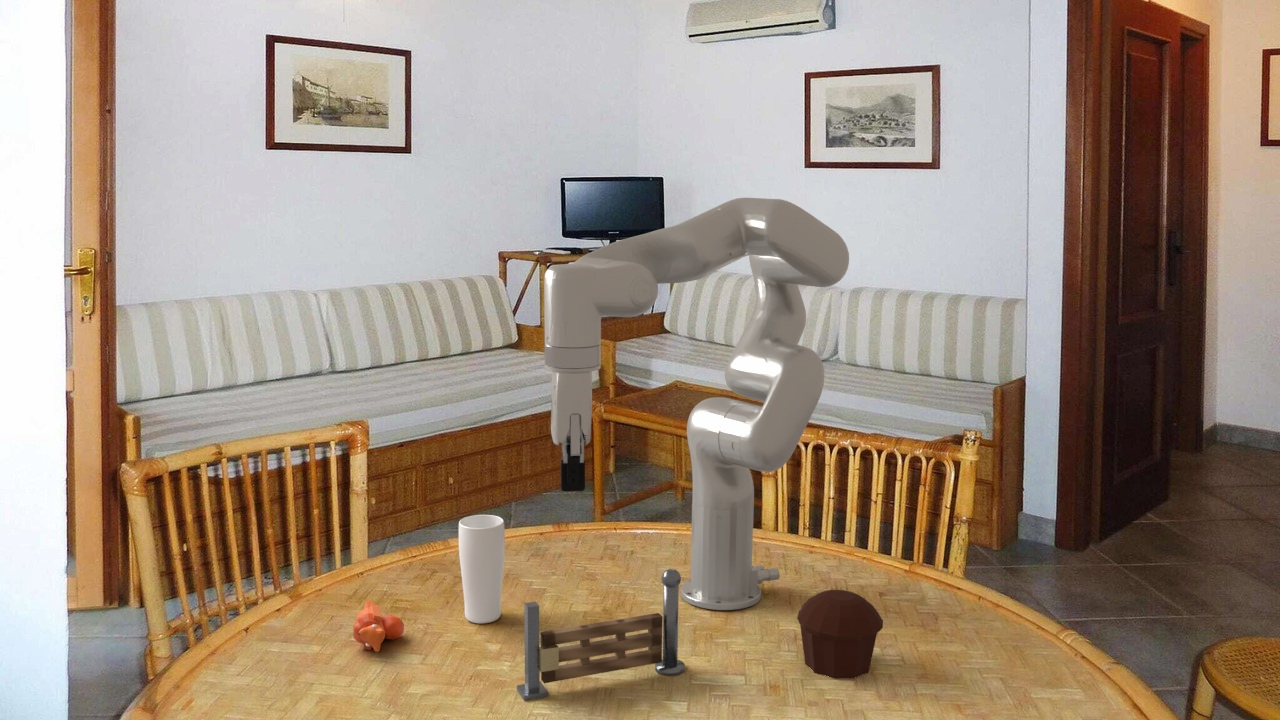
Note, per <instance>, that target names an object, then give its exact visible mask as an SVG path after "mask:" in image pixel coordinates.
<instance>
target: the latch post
mask: <svg viewBox="0 0 1280 720" xmlns="http://www.w3.org/2000/svg"><path fill="white" fill-rule="evenodd" d="M523 606H524V608H523V609H524V610H523V611H524V612H523V613H524V616H523V617H524V618H523V619H524V620H523V621H524V626H523V627H524V683H523V684H517V685H516V691H517V693H518V694H519V695H520V697H521V699H522V700H523V701H529V700H534V699H541V698H546V697H549V691H548V689H547V688H546V687H545V686H544V683H542V680H541V672H545V671H551V670H557V669H559V665H560V662H559V647H560V646H558V644H557V645H551V646H545V647H541V646H540V605H539V604H538V603H537V601H530V602H524V603H523ZM540 680H541V681H540Z"/></svg>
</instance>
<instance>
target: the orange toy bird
mask: <svg viewBox="0 0 1280 720" xmlns="http://www.w3.org/2000/svg"><path fill="white" fill-rule="evenodd" d="M363 607H364V608H363V609H361V610H360V612H359V613H358V614H357V616H356V621H355V623H354V624H353V629H352V631H353V632H352V634H353V635H352V637H353V639H354V640H355V641H356V642H357V643H359V644H361V645H362V650H366V651H367V650H368V651H370V650H372V648H373V650H374V651H375V652H376V653H378V652H380V650H381V646H382V645H381V644H382V643H383V641H384V640H385V639H387V640H390V639H392V640H393V639H394V640H397V639H399V638H400V637H402V635H403V634H404V631H405V624H404V621H403V620H402V619H401V618H400V617H399V616H398V617H397V616H395V615H390V614H388V615H387V614H386V615H384V616H382V615H383V614H382V611H381V608H380V605H379V604H378V605H377V604H375V602H374V601H373V600H372V601H371V600H368V599H366V600H365V602H364V606H363ZM392 640H391V641H392Z"/></svg>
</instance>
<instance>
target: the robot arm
mask: <svg viewBox="0 0 1280 720" xmlns="http://www.w3.org/2000/svg"><path fill="white" fill-rule="evenodd" d="M744 257H745V258H746V257H748V260H749V265H750V269H751V273H752V276H753V281H754V286H755V296H756V299H755V306H754V309H753V311H752V313H751V315H750V318H749V320H748V322H747V324H746V326H745V328H744V330H743V332H742V334H741V336H740V338H739V340H738V342H737V344H736V346H734V347H735V348H734V349H733V351H732V353H731V356H730V358H729V360H728V362H727V364H726V368H725V371H724V372H725V373H724V379H725V382H726V386H727V387H728V388H729V390H730V391H731V392H733V393H735V394H736V395H738V396H741V397H744V398H747V399H751V400H755V401H759V402H763V404H762V405H759V404H753V403H750V402H747V401H742V400H737V399H733V398H729V397H721V396H720V397H719V396H717V397H709V398H706V399H703V400H702V401H700V402H699V403H697V404H696V405H694V407H693V409H692V410H691V412H690V413H689V416H688V420H687V423H686V436H687V438H686V439H687V443H688V450H689V455H690V461H691V462H690V463H691V470H692V471H691V473H692V495H691V496H692V500H691V503H692V504H691V547H690V548H691V549H690V550H691V552H690V553H691V555H690V558H691V559H690V578H689V579H688V580H685V581H684V582H683V583H682V585H681V586H680V596H681V598H682V599H683V600H684V602H686V603H688V604H691V605H693V606H695V607H698V608H702V609H707V610H711V611H712V610H714V611H735V610H741V609H746V608H749V607H752V606H754V605H756V604H757V603H758V602H760V600H761V598H762V589H761V587H760V586H759V585H762V584H763V582H773V581H778V580H779V579H780V577H781V575H780V570H779V568H777V567H773V568H766V569H765V566H764V565H762V564H761V565H755V566H753V545H754V544H753V539H754V507H755V505H754V504H755V503H754V502H755V487H754V481H753V475H752V473H751V470H753V471H758V472H762V473H772V472H775V471H778V470H780V469H781V468H782V467H784V466H785V465H786V463H788V461H789V460H790V459H791V457H792V455H793V454H794V452H795V450H796V448H797V445H798V444H799V442H800V440H801V437H802V435H804V434H803V433H805V429H806V428H807V426H808V424H809V421H810V420H811V418H812V415H813V413H814V411H815V409H816V407H817V405H818V403H819V400H820V399H821V396H822V393H823V390H824V384H825V368H824V364H823V361H822V358H820V355H818V353H817V352H816V351H814V349H811V348H809V347H807V346H804V345H800V344H799V342H800V340H801V338H802V335H803V334H804V331H805V329H806V328H805V327H806V325H807V311H806V307H805V304H804V300H803V298H802V295H801V291H800V288H799V286H808V287H815V288H826V287H828V288H829V287H831V286H834V285H836V284H837V283H839V282H840V281H841V280H842V279H843V278H844V276H846V273H847V271H848V268H849V264H850V253H849V248H848V246H847V244H846V242H845V240H844V239H843V237H842V236H841V235H840V234H839V233H838V232H837V231H835V230H834V229H832V228H831V227H829V226H828V225H827V224H825V223H824V222H823V221H821V220H820V219H818V218H816V217H815V216H813V214H811V213H809V212H808V211H806V210H805V209H803V208H801V207H800V206H799V205H796V204H795V203H792V202H791V201H788V200H785V199H781V198H760V197H759V198H758V197H738V198H734V199H730V200H728V201H725V202H723V203H721V204H719V205H717V206H715V207H713V208H711V209H708V210H706V211H705V212H702V213H700V214H698V215H695V216H693V217H691V218H689V219H688V220H685V221H683V222H680V223H678V224H676V225H673V226H668V227H664V228H660V229H656V230H653V231H649V232H646V233H643V234H639V235H635V236H631V237H628V238H623V239H621V240H617V241H614V242H611V243H608V244H607V245H604V246H602V247H599V248H597V249H594V250H593V251H591V252H587V254H585V255H583V256H581V257H579V258H578V259H577V260H575V261H574V262H573V263H569V264H568V263H565V264H556V265H552V266H549V267H548V268H547V269H546V271H545V273H544V281H543V282H544V283H543V285H544V286H543V287H544V288H543V289H544V292H543V293H544V294H543V295H544V296H543V297H544V298H543V299H544V300H543V301H544V302H543V303H544V306H543V307H544V308H543V309H544V313H543V315H544V318H543V319H544V320H543V321H544V369H545V370H548V371H550V372H551V386H550V389H551V390H550V400H551V401H550V410H551V411H550V435H551V438H552V442H553V444H554V445H556V446H559V445H560V443H561V459H560V488H561V491H562V492H584V491H585V490H586V462H585V445H588V444H589V443H590V442H591V435H592V434H591V433H592V418H593V417H592V416H593V414H592V412H593V411H592V410H593V409H592V407H593V372H596V371H598V370H600V369H601V367H602V365H601V364H602V363H601V361H602V357H601V356H602V349H601V347H602V346H601V343H602V338H601V337H602V331H601V330H602V326H601V325H602V318H603V317H615V318H616V317H617V318H633V317H635V318H636V317H639V316H641V315H643V314H645V313H647V312H648V311H649V310H650V309H651V308H652V307H653V306H654V305H655V303H656V301H657V298H658V296H659V295H658V294H659V284H660V285H661V284H680V283H687V282H693V281H694V282H695V281H698V280H701V279H703V278H706V277H707V276H709V275H711V274H712V273H715V272H717V271H718V270H721V269H722V268H724V267H727V266H728V265H730V264H732V263H735V262H737V261H739V260H741V259H743V258H744Z"/></svg>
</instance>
